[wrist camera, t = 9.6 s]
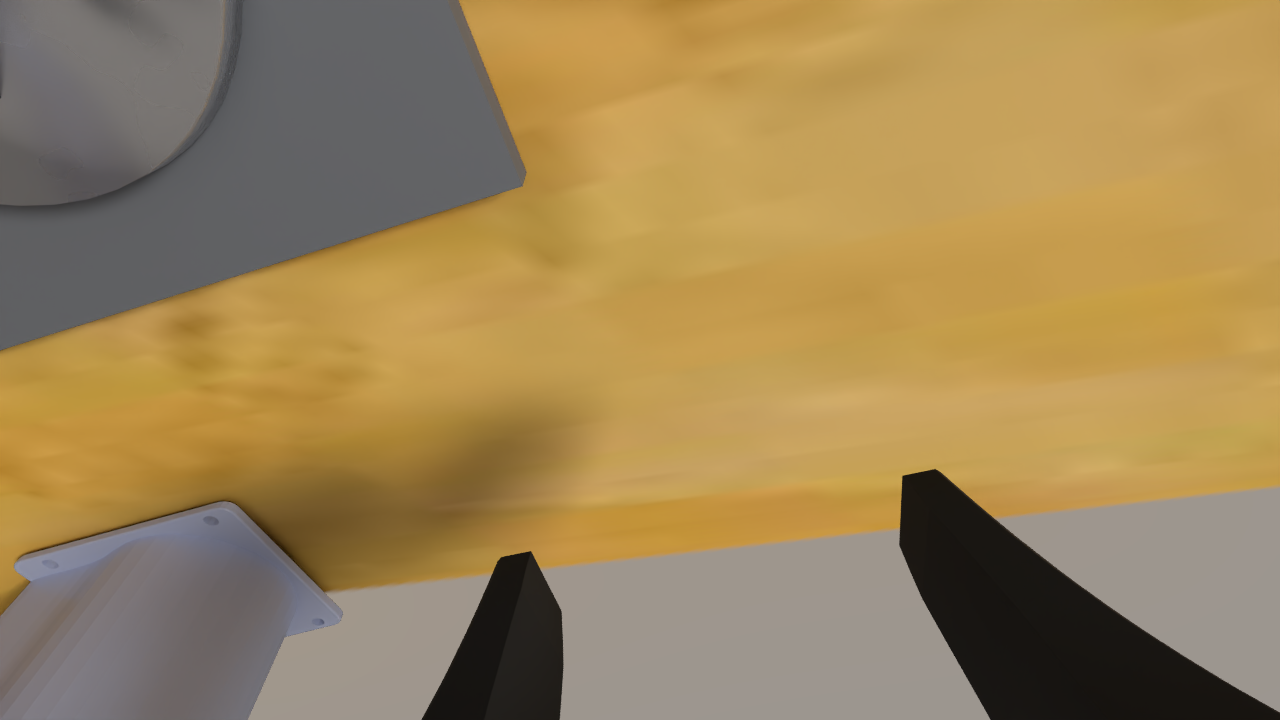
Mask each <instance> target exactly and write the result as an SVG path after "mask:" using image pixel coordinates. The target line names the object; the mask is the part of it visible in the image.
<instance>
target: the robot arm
mask: <svg viewBox="0 0 1280 720" xmlns="http://www.w3.org/2000/svg"><path fill="white" fill-rule="evenodd" d="M899 545H900V548H901V550H902V553H903V555H904V557H905V560H906V562H907V565H908V567H909V569H910V572H911V574H912V576H913V579H914V581H915V583H916V585H917V588H918V590H919V592H920V594H921V597H922V599H923V601H924V602H925V604H926V606H927V608H928V610H929V611H930V613H931V615H932V617H933V619H934V620H935V622H936V624H937V625H938V628H939V629H940V631H941V633H942V635H943V636H944V638H945V640H946V642H947V643H948V645H949V647H950V649H951V651H952V652H953V654H954V656H955V657H956V659H957V661H958V663H959V665H960V666H961V668H962V670H963V672H964V673H965V675H966V677H967V679H968V681H969V682H970V684H971V685H972V687H973V689H974V691H975V692H976V694H977V696H978V698H979V700H980V702H981V703H982V705H983V707H984V709H985V710H986V712H987V714H988V716H989V718H990V719H991V720H1280V712H1278V711H1276V710H1274V709H1273V708H1271V707H1269V706H1267V705H1265V704H1263V703H1262V702H1260V701H1258V700H1257V699H1255V698H1253V697H1251V696H1249V695H1248V694H1246V693H1244V692H1242V691H1241V690H1239V689H1237V688H1235V687H1233V686H1232V685H1230V684H1229V683H1227V682H1225V681H1223V680H1222V679H1220V678H1219V677H1217V676H1215V675H1214V674H1212V673H1210V672H1209V671H1207V670H1205V669H1204V668H1202V667H1201V666H1199V665H1197V664H1195V663H1194V662H1193V661H1191V660H1189V659H1188V658H1186V657H1184V656H1183V655H1181V654H1180V653H1178V652H1177V651H1175V650H1173V649H1172V648H1170V647H1169V646H1167V645H1166V644H1164V643H1163V642H1161V641H1159V640H1158V639H1156V638H1155V637H1153V636H1152V635H1150V634H1149V633H1147V632H1145V631H1144V630H1142V629H1141V628H1140V627H1138V626H1137V625H1135V624H1134V623H1132V622H1131V621H1129V620H1128V619H1126V618H1125V617H1123V616H1122V615H1120V614H1119V613H1118V612H1116V611H1115V610H1113V609H1112V608H1110V607H1109V606H1107V605H1106V604H1105V603H1103V602H1102V601H1101V600H1099V599H1098V598H1096V597H1095V596H1094V595H1092V594H1091V593H1089V592H1088V591H1087V590H1085V589H1084V588H1082V587H1081V586H1080V585H1078V584H1077V583H1075V582H1074V581H1073V580H1072V579H1070V578H1069V577H1067V576H1066V575H1065V574H1064V573H1062V572H1061V571H1059V570H1058V569H1057V568H1056V567H1054V566H1053V565H1052V564H1050V563H1049V562H1048V561H1047V560H1045V559H1044V558H1043V557H1041V556H1040V555H1039V554H1038V553H1036V552H1035V551H1034V550H1033V549H1031V548H1030V547H1029V546H1027V545H1026V544H1025V543H1024V542H1022V541H1021V540H1020V539H1019V538H1017V537H1016V536H1014V534H1012V533H1011V532H1010V531H1009V530H1007V529H1006V528H1005V527H1004V526H1003V525H1001V524H1000V523H999V522H998V521H997V520H995V519H994V518H993V517H992V516H991V515H989V514H988V513H987V512H986V511H985V510H983V509H982V508H981V507H980V506H979V505H978V504H976V503H975V502H974V501H973V500H972V499H971V498H969V497H968V496H967V495H966V494H965V493H964V492H963V491H961V490H960V489H959V488H958V487H957V486H956V485H955V484H953V483H952V482H951V481H950V480H949V479H948V478H947V477H945V476H944V475H943V474H942V473H941V472H939V471H938V470H936V469H934V470H929V471H924V472H919V473H914V474H909V475H904V476H903V477H902V499H901V520H900V543H899ZM14 568H15V570H16V571H17V572H18V573H19V574H20V575H22V576H23V577H25V578H26V579H28V580H29V581H31V582H30V583H29V584H28V586H27V587H26V588H25V589H24V590H23V591H22V592H21V593H20V595H19V596H18V597H17V598H16V599H15V600H14V601H13V602H12V603H11V605H10V606H9V607H8V608H7V609H6V610H5V611H4V612H3V614H2V615H1V616H0V720H248V718H249V715H250V713H251V711H252V709H253V707H254V704H255V702H256V700H257V697H258V695H259V693H260V691H261V689H262V686H263V684H264V682H265V680H266V678H267V675H268V673H269V670H270V668H271V666H272V664H273V662H274V659H275V657H276V655H277V653H278V651H279V648H280V646H281V644H282V642H283V640H284V637H287V636H291V635H295V634H299V633H302V632H307V631H311V630H315V629H319V628H323V627H328V626H331V625H335V624H337V623H339V622H340V621H341V618H342V615H343V612H342V610H341V609H340V608H339V607H338V606H337V605H336V604H335V603H334V602H333V601H332V600H331V599H330V598H329V597H328V596H327V595H326V594H325V593H324V592H323V591H322V590H321V589H320V588H319V587H318V586H317V585H316V584H315V583H314V582H313V581H312V580H311V579H310V578H309V577H308V576H307V575H306V574H305V573H304V572H303V571H302V570H301V569H300V568H299V567H298V566H297V565H296V564H295V563H294V562H293V561H292V560H291V559H290V558H289V557H288V556H287V555H286V554H285V553H284V552H283V551H282V550H281V549H280V548H279V547H278V546H277V545H276V544H275V543H274V542H273V541H272V540H271V539H270V538H269V537H268V536H267V535H266V534H265V533H264V532H263V531H262V530H261V529H260V528H259V527H258V526H257V525H256V524H255V523H254V522H253V521H252V520H251V519H250V518H249V517H248V516H247V515H246V514H245V513H244V512H243V511H242V510H241V509H240V508H239V507H238V506H237V505H236V504H234V503H231V502H226V501H223V502H217V503H213V504H209V505H206V506H202V507H198V508H195V509H191V510H187V511H184V512H180V513H177V514H173V515H169V516H166V517H162V518H158V519H155V520H151V521H147V522H144V523H140V524H136V525H133V526H129V527H125V528H122V529H118V530H114V531H111V532H107V533H103V534H100V535H96V536H92V537H89V538H85V539H81V540H78V541H74V542H70V543H67V544H63V545H60V546H56V547H52V548H49V549H45V550H41V551H38V552H34V553H30V554H27V555H24V556H22V557H20V558H19V559H18V561H17V562H16V563H15V564H14ZM562 679H563V634H562V613H561V609H560V608H559V605H558V603H557V601H556V599H555V598H554V595H553V593H552V592H551V590H550V588H549V586H548V584H547V582H546V580H545V578H544V576H543V574H542V572H541V570H540V568H539V566H538V564H537V562H536V560H535V558H534V556H533V554H532V552H531V551H529V552H524V553H520V554H515V555H510V556H505V557H501V558H500V559H499V561H498V562H497V564H496V567H495V569H494V571H493V574H492V576H491V578H490V581H489V583H488V585H487V588H486V590H485V592H484V594H483V597H482V599H481V601H480V603H479V606H478V608H477V610H476V612H475V615H474V617H473V619H472V621H471V624H470V626H469V628H468V630H467V632H466V634H465V636H464V639H463V640H462V642H461V644H460V647H459V648H458V650H457V653H456V655H455V657H454V659H453V661H452V663H451V665H450V667H449V669H448V671H447V673H446V675H445V677H444V679H443V681H442V683H441V685H440V686H439V688H438V690H437V692H436V694H435V696H434V698H433V699H432V701H431V703H430V705H429V707H428V709H427V711H426V713H425V714H424V716H423V718H422V720H559V719H560V708H561V694H562Z"/></svg>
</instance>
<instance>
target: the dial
mask: <svg viewBox="0 0 1280 720" xmlns="http://www.w3.org/2000/svg"><path fill="white" fill-rule="evenodd" d="M242 12H243V0H0V204H3V205H15V206H31V205H56V204H62V203H69V202H75V201H81V200H87V199H90V198H93V197H96V196H99V195H102V194H105V193H109V192H112V191H115V190H118V189H120V188H122V187H124V186H126V185H128V184H130V183H132V182H134V181H136V180H138V179H140V178H142V177H144V176H146V175H148V174H150V173H151V172H153V171H155V170H157V169H159V168H161V167H163V166H165V165H167V164H169V163H170V162H171V161H172V160H174V159H175V158H176V157H178V156H179V155H180V154H181V153H183V152H184V151H185V150H186V149H188V148H189V147H190V146H191V145H192V144H193V143H194V142H195V141H196V139H197V138H198V137H199V136H200V135H201V134H202V133H203V131H204V130H205V129H206V128H207V127H208V126H209V124H210V123H211V121H212V119H213V118H214V116H215V114H216V112H217V111H218V109H219V107H220V105H221V104H222V102H223V100H224V98H225V96H226V93H227V90H228V87H229V85H230V82H231V79H232V76H233V73H234V71H235V67H236V62H237V56H238V51H239V46H240V40H241V35H242Z"/></svg>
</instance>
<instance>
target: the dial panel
mask: <svg viewBox="0 0 1280 720" xmlns="http://www.w3.org/2000/svg"><path fill="white" fill-rule="evenodd" d="M525 176H526V170H525V167H524V165H523V162H522V160H521V157H520V155H519V152H518V150H517V147H516V145H515V142H514V140H513V137H512V135H511V132H510V130H509V127H508V125H507V122H506V119H505V117H504V114H503V112H502V109H501V107H500V104H499V102H498V99H497V97H496V94H495V92H494V89H493V87H492V84H491V82H490V79H489V77H488V74H487V72H486V69H485V67H484V64H483V61H482V59H481V56H480V54H479V51H478V49H477V46H476V44H475V41H474V39H473V36H472V34H471V31H470V29H469V26H468V24H467V21H466V19H465V16H464V14H463V11H462V8H461V6H460V3H459V1H458V0H243V12H242V35H241V40H240V46H239V51H238V56H237V62H236V67H235V71H234V73H233V76H232V79H231V82H230V85H229V87H228V90H227V93H226V96H225V98H224V100H223V102H222V104H221V105H220V107H219V109H218V111H217V112H216V114H215V116H214V118H213V119H212V121H211V123H210V124H209V126H208V127H207V128H206V129H205V130H204V131H203V133H202V134H201V135H200V136H199V137H198V138H197V139H196V141H195V142H194V143H193V144H192V145H191V146H190V147H189V148H188V149H186V150H185V151H184V152H183V153H181V154H180V155H179V156H178V157H176V158H175V159H174V160H172V161H171V162H170V163H169V164H167V165H165V166H163V167H161V168H159V169H157V170H155V171H153V172H151V173H150V174H148V175H146V176H144V177H142V178H140V179H138V180H136V181H134V182H132V183H130V184H128V185H126V186H124V187H122V188H120V189H118V190H115V191H112V192H109V193H105V194H102V195H99V196H96V197H93V198H90V199H87V200H81V201H75V202H69V203H62V204H56V205H31V206H15V205H3V204H0V350H2V349H6V348H9V347H12V346H15V345H18V344H21V343H25V342H28V341H31V340H34V339H37V338H41V337H44V336H47V335H50V334H53V333H56V332H60V331H63V330H66V329H69V328H72V327H76V326H79V325H82V324H85V323H88V322H91V321H95V320H98V319H101V318H104V317H107V316H111V315H114V314H117V313H120V312H123V311H126V310H130V309H133V308H136V307H139V306H142V305H146V304H149V303H152V302H155V301H158V300H161V299H165V298H168V297H171V296H174V295H177V294H181V293H184V292H187V291H190V290H193V289H196V288H200V287H203V286H206V285H209V284H212V283H216V282H219V281H222V280H225V279H228V278H231V277H235V276H238V275H241V274H244V273H247V272H251V271H254V270H257V269H260V268H263V267H266V266H270V265H273V264H276V263H279V262H282V261H286V260H289V259H292V258H295V257H298V256H301V255H305V254H308V253H311V252H314V251H317V250H321V249H324V248H327V247H330V246H333V245H336V244H340V243H343V242H346V241H349V240H352V239H356V238H359V237H362V236H365V235H368V234H371V233H375V232H378V231H381V230H384V229H387V228H391V227H394V226H397V225H400V224H403V223H406V222H410V221H413V220H416V219H419V218H422V217H426V216H429V215H432V214H435V213H438V212H442V211H445V210H448V209H451V208H454V207H457V206H461V205H464V204H467V203H470V202H473V201H477V200H480V199H483V198H486V197H489V196H492V195H496V194H499V193H502V192H505V191H508V190H512V189H515V188H518V187H521V186H523V183H524V179H525Z"/></svg>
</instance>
